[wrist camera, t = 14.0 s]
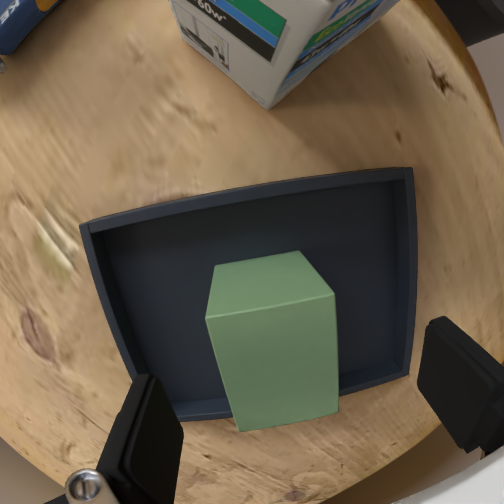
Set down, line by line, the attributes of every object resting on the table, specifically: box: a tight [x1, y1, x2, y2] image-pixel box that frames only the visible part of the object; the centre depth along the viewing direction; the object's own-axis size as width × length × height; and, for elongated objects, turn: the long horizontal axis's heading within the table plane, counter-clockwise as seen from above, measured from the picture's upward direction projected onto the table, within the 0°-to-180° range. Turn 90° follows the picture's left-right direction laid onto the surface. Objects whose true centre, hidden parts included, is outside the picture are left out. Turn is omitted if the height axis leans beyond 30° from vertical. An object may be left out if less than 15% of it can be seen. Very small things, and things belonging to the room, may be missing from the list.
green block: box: [205, 251, 339, 432], centre depth 14 cm, size 4×6×6 cm
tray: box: [79, 167, 418, 422], centre depth 16 cm, size 17×13×2 cm
